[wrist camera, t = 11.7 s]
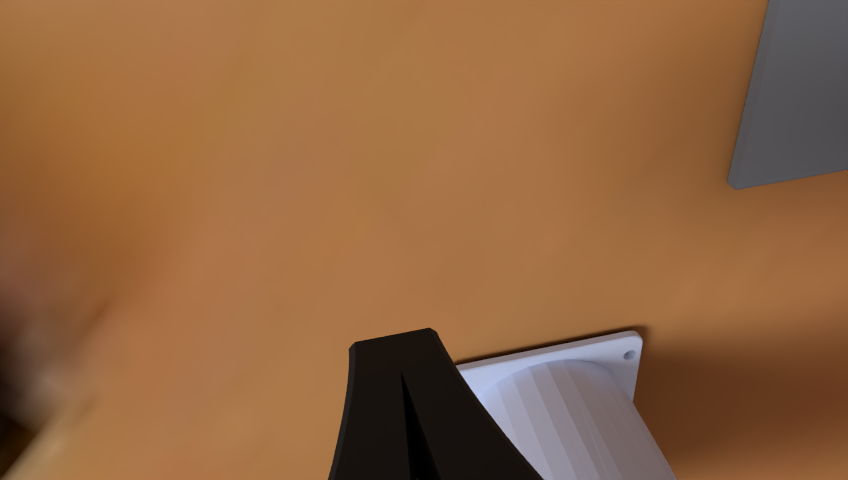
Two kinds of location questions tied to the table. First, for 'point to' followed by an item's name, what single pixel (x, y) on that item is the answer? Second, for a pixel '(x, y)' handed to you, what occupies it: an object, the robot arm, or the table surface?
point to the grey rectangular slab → (796, 96)
